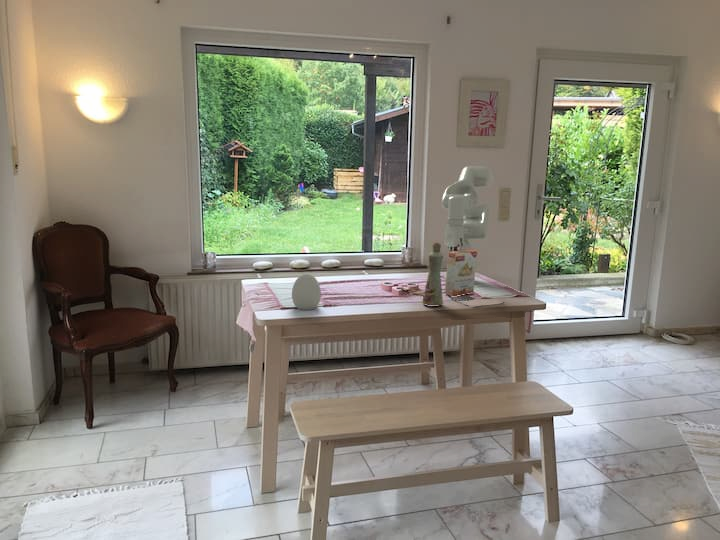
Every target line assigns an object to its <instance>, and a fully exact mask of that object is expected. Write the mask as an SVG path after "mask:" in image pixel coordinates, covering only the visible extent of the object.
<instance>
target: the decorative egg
mask: <svg viewBox="0 0 720 540" xmlns="http://www.w3.org/2000/svg"><path fill="white" fill-rule="evenodd" d="M321 298H322V291H321V286H320V283H319V281H318V279H317V278H316V277H315V276H314V275H313V274H312V273H309V272H304V273H301V274H300V275H299V276H298V277H297V278H296V280H295V281H294V283H293V285H292V289H291V299H292V302H293V305H294V306H295V307H296V308H297V309H298V310H301V311H302V310H303V311H310V310H314V309H316V308H317V307H318V306H319V305H320V302H321Z"/></svg>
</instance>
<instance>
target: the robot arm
mask: <svg viewBox="0 0 720 540" xmlns="http://www.w3.org/2000/svg"><path fill="white" fill-rule="evenodd" d="M493 183H494V175H493V172H492V170H491V169H490V168H489V167H487V166H480V165H467V166H465V167H463V169H462V170H461V172H460V175H459V178H458V181H456V182H454V183H452V184H451V185H448V186H447V187H446V188H445V190H444V192H443V195H442V199H441V207H442V209H444V210H446V211H447V223H446V226H445V228H444V229H445V230H444V236H443V244H444V245H445V246H446V247H447V248H448V252H452V251H462V250H472V251H474V250H473V249H474V248H473V244H472V243H471V242H470V240H479V241H481V240H486V239H487V237H488V234H489V227H490V222H491V215H492V208H491V206H490V204H488V203H479V201H480V196H479V194H478V193H477V191H476V190H475V189H474V188H485V189H487V188H491V186H493Z"/></svg>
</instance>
